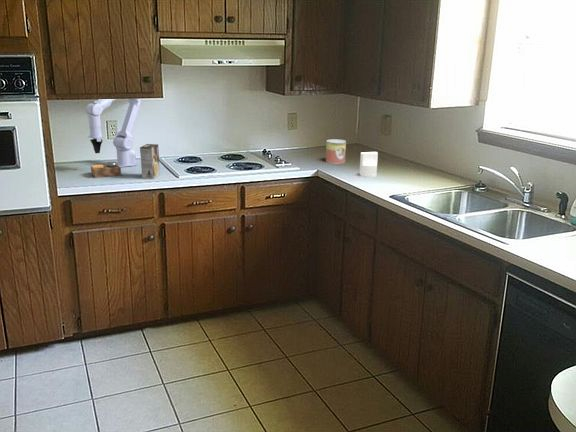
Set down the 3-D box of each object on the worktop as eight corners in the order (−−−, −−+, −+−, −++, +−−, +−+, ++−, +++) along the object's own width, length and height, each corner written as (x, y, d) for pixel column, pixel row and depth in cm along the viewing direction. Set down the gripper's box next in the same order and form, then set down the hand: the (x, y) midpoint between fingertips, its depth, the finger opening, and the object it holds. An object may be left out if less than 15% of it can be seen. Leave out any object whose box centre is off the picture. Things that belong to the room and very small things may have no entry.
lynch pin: (116, 171, 311) (115, 161, 310) (118, 173, 307) (117, 163, 305) (106, 172, 309) (105, 162, 307) (108, 174, 305) (107, 163, 303)
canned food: (332, 164, 337) (333, 143, 334) (321, 160, 347) (322, 140, 343) (349, 162, 343) (350, 141, 339) (337, 158, 352) (338, 138, 348)
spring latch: (101, 166, 306) (101, 164, 306) (103, 167, 303) (103, 166, 303) (91, 167, 304) (91, 165, 304) (93, 168, 301) (93, 167, 301)
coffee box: (148, 174, 309) (146, 143, 304) (160, 174, 308) (158, 144, 303) (141, 178, 300) (139, 147, 295) (153, 179, 299) (151, 147, 294)
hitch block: (116, 171, 314) (116, 163, 313) (121, 175, 305) (120, 167, 304) (91, 173, 308) (90, 166, 307) (95, 177, 300) (94, 170, 298)
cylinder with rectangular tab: (363, 177, 309) (364, 154, 306) (356, 173, 317) (358, 151, 314) (379, 176, 312) (380, 154, 308) (372, 172, 320) (373, 150, 316)
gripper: (84, 125, 312) (86, 151, 316) (90, 129, 300) (92, 156, 304) (98, 124, 315) (100, 149, 319) (104, 128, 303) (106, 155, 307)
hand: (97, 153), depth 312 cm, fingers closed
